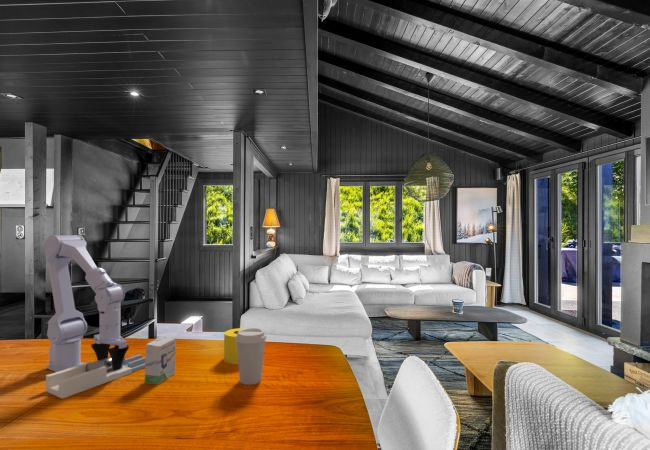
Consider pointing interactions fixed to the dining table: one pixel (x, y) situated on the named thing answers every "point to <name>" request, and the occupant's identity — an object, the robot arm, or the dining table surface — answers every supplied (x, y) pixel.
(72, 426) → the dining table surface
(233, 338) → the yellow cylinder
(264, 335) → the coffee cup
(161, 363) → the ink box
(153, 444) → the dining table surface
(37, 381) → the dining table surface
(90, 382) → the white channel tray
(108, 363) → the axle
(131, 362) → the cradle
